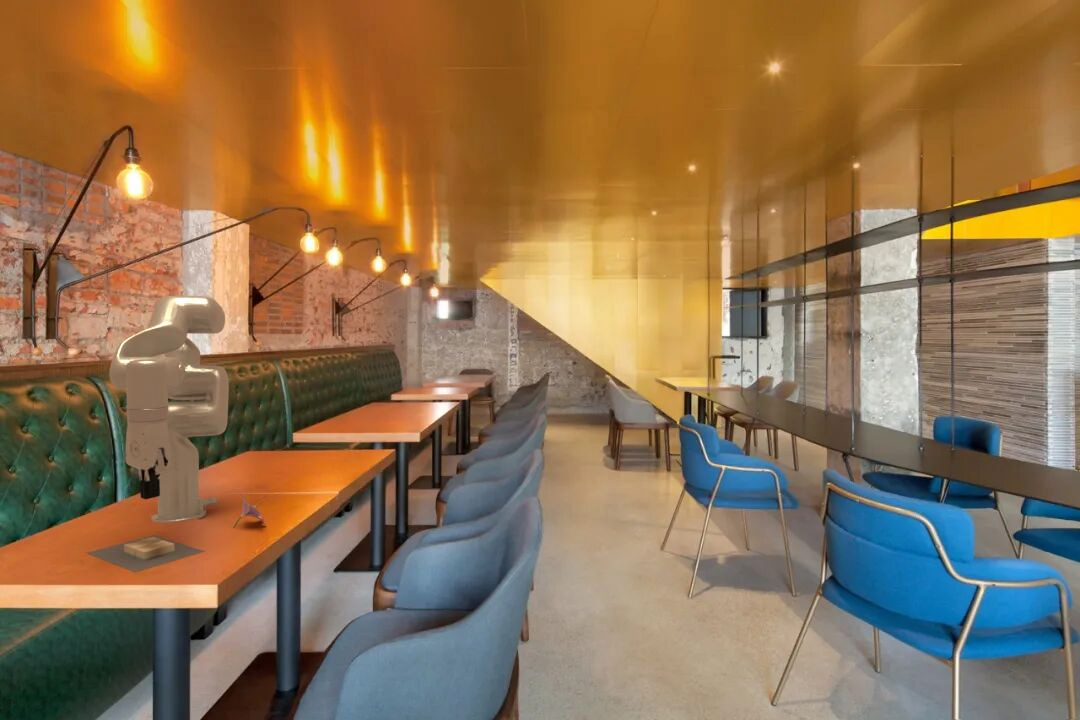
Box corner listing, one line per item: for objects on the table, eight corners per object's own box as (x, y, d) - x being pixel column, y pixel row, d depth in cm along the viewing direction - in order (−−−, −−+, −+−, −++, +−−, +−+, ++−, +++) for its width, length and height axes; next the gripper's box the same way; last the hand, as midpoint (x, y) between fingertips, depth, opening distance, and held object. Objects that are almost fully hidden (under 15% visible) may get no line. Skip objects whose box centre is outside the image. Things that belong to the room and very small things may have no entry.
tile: (153, 537, 132) (174, 543, 127) (153, 545, 132) (174, 552, 127) (123, 544, 127) (144, 552, 122) (123, 553, 127) (144, 561, 122)
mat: (154, 538, 139) (154, 535, 139) (205, 554, 128) (205, 551, 128) (85, 556, 127) (85, 552, 127) (135, 576, 116) (135, 572, 116)
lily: (256, 539, 142) (275, 501, 145) (209, 523, 140) (229, 485, 144) (264, 539, 153) (281, 504, 156) (220, 524, 151) (239, 489, 155)
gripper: (112, 414, 127) (114, 496, 128) (146, 420, 119) (149, 507, 120) (149, 410, 133) (151, 488, 134) (184, 416, 126) (186, 498, 127)
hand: (150, 497), depth 127 cm, fingers closed
